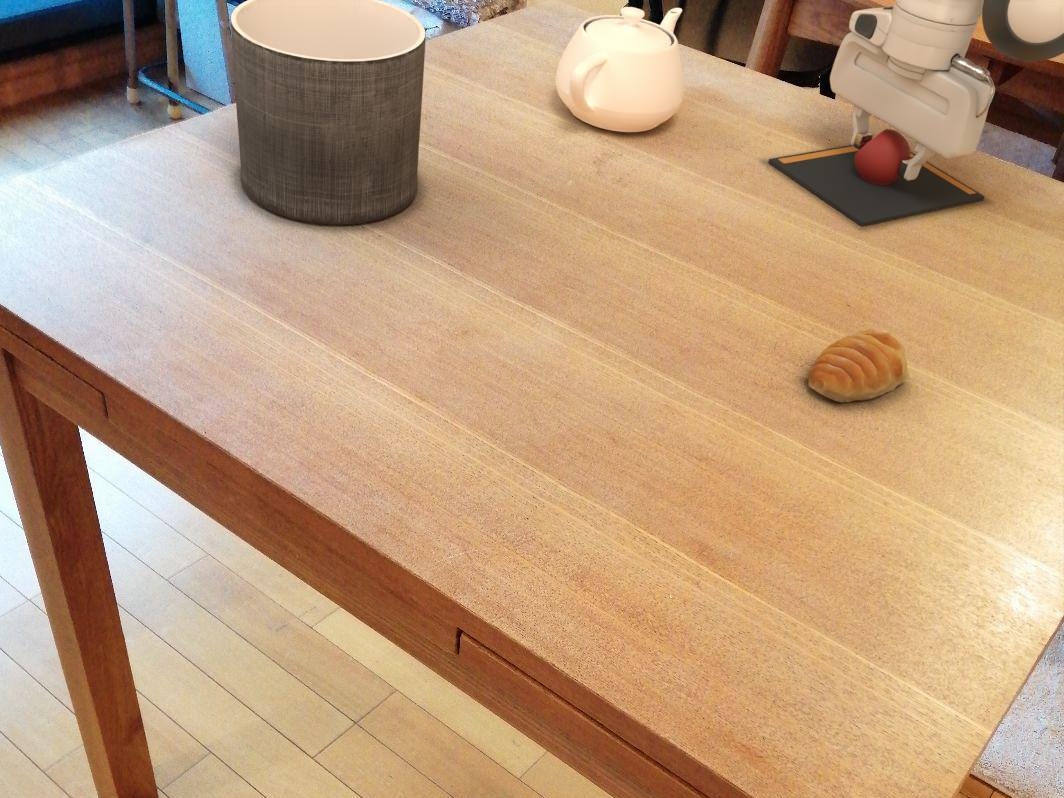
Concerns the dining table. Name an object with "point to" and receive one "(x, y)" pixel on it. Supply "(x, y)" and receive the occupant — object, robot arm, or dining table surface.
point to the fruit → (882, 157)
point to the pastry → (859, 367)
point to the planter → (328, 107)
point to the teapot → (623, 71)
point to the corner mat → (872, 187)
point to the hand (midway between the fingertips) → (882, 162)
